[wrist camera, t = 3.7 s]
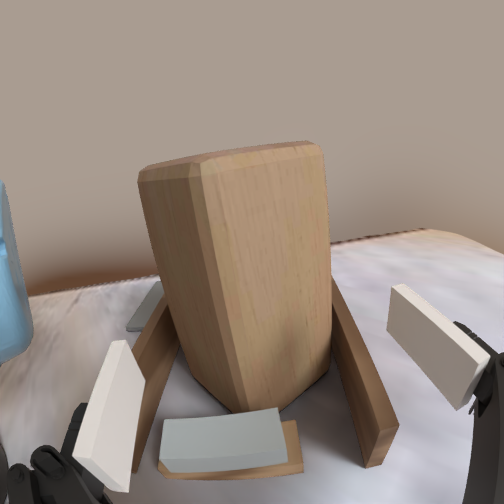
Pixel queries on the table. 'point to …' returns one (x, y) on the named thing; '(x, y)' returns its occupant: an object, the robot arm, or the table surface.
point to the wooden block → (246, 267)
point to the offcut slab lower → (281, 469)
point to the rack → (346, 355)
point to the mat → (146, 308)
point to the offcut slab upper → (223, 442)
